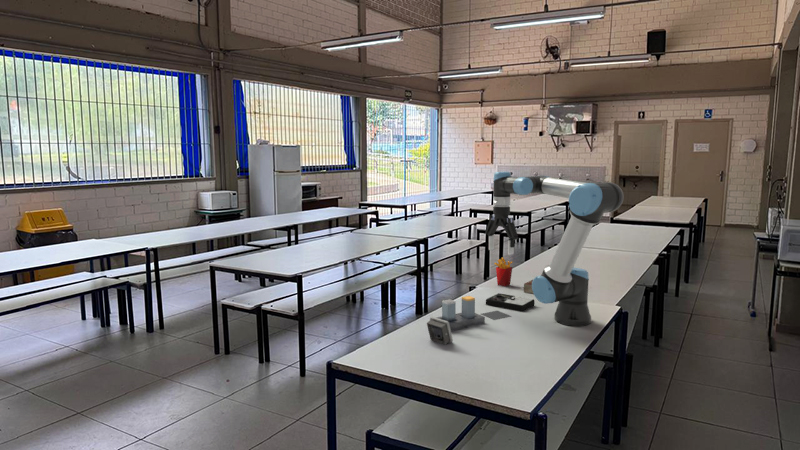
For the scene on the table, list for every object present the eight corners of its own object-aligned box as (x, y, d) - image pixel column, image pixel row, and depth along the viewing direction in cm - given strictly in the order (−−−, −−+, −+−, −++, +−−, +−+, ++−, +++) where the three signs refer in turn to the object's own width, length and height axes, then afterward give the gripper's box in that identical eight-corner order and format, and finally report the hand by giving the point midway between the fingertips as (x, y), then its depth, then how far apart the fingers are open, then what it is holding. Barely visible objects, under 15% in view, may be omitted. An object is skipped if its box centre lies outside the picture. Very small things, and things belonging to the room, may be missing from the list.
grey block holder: (484, 323, 227) (484, 298, 226) (445, 331, 218) (445, 305, 216) (470, 317, 236) (470, 293, 234) (432, 325, 226) (432, 299, 225)
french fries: (512, 284, 292) (513, 257, 290) (504, 287, 286) (504, 260, 284) (498, 282, 298) (499, 255, 296) (490, 285, 292) (490, 258, 290)
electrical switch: (453, 342, 206) (451, 320, 204) (444, 347, 202) (442, 324, 200) (435, 336, 212) (433, 314, 210) (426, 341, 209) (424, 319, 207)
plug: (474, 320, 228) (474, 298, 227) (467, 322, 226) (467, 299, 225) (469, 318, 232) (469, 295, 230) (461, 319, 230) (461, 297, 229)
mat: (512, 317, 236) (512, 316, 236) (494, 320, 231) (494, 319, 231) (497, 311, 245) (497, 310, 245) (479, 314, 240) (479, 313, 240)
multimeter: (498, 300, 264) (498, 290, 264) (534, 306, 253) (535, 296, 252) (485, 306, 254) (485, 296, 253) (523, 313, 243) (523, 302, 242)
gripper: (478, 204, 251) (477, 248, 254) (513, 208, 230) (512, 257, 233) (490, 203, 255) (490, 247, 258) (527, 207, 233) (525, 255, 236)
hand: (500, 252), depth 245 cm, fingers open, 13 cm apart
